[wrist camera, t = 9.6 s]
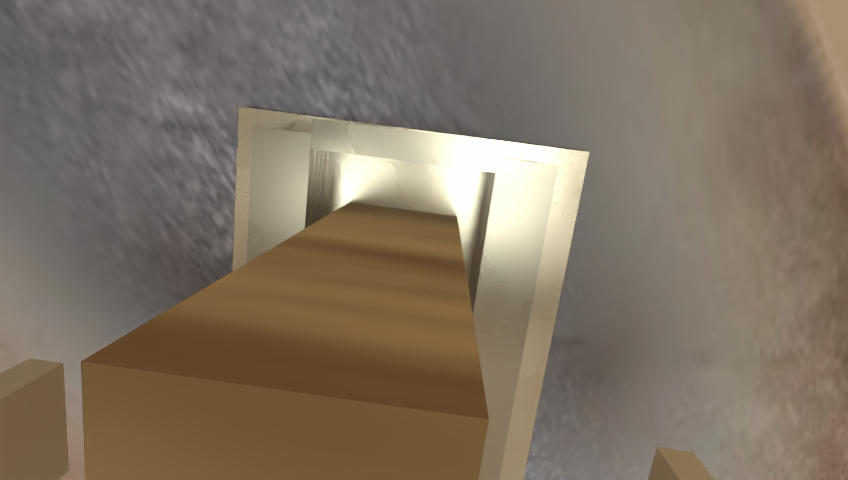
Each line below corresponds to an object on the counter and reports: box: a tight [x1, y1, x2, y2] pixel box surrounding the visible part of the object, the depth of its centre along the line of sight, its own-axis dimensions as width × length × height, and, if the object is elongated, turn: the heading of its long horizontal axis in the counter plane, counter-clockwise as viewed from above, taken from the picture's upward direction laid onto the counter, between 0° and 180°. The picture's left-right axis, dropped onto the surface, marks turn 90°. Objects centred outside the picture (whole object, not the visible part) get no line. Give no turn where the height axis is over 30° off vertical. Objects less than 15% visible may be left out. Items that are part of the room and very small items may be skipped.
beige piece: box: [232, 107, 589, 480], centre depth 15 cm, size 15×11×3 cm
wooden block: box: [81, 202, 489, 480], centre depth 10 cm, size 10×4×11 cm, turn 173°
